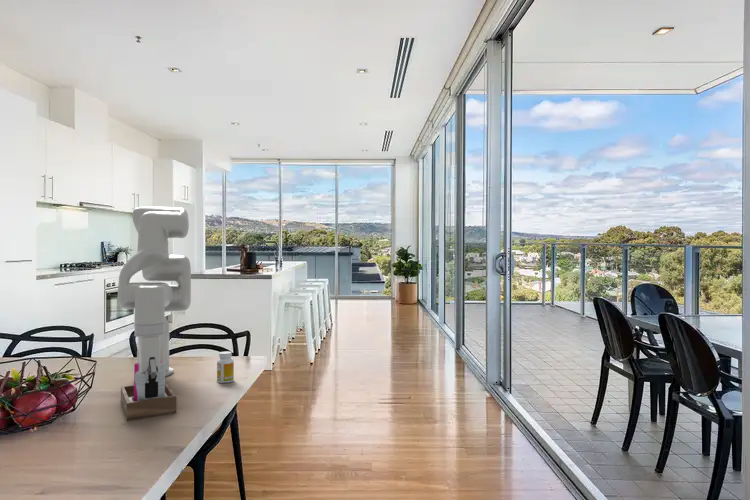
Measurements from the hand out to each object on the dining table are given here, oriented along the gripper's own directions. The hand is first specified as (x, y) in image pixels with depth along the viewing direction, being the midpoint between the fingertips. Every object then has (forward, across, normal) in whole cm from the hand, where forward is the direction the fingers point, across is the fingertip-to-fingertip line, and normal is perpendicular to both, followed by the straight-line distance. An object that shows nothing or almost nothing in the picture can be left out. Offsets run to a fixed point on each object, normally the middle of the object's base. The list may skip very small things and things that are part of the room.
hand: (149, 392), depth 134 cm
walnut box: (+5, -3, 0) cm, 5 cm away
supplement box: (+3, 0, 0) cm, 3 cm away
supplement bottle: (+5, -19, +26) cm, 32 cm away
